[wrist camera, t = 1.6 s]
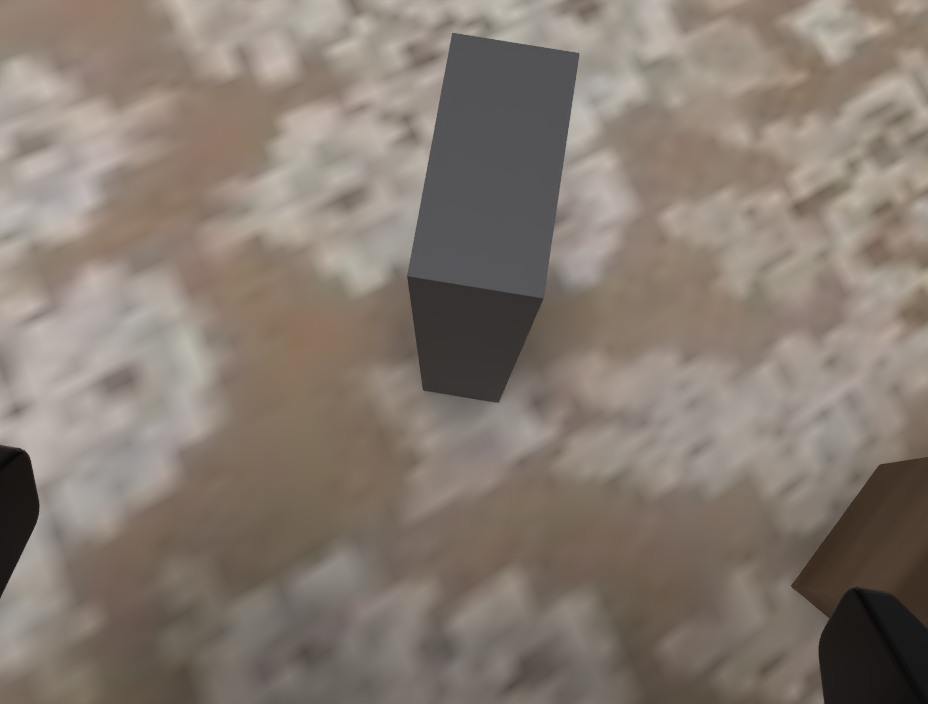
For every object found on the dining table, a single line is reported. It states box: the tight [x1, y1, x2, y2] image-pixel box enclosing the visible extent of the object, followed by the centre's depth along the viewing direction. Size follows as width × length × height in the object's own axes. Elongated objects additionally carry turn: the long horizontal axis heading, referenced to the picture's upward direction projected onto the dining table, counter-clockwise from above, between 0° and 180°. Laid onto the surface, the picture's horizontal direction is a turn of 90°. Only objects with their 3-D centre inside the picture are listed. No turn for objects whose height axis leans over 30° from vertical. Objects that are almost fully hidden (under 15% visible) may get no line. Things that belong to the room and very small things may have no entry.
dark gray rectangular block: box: [407, 33, 579, 403], centre depth 17 cm, size 2×4×10 cm, turn 171°
